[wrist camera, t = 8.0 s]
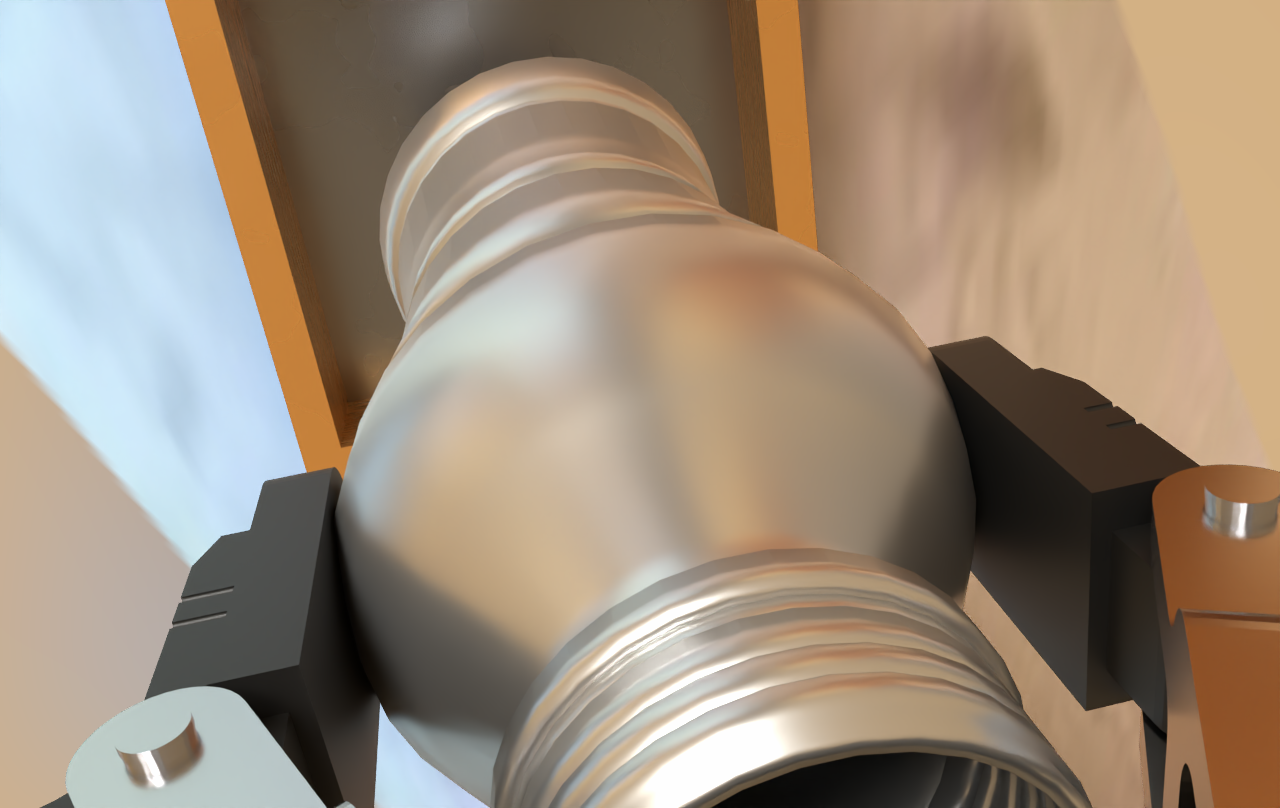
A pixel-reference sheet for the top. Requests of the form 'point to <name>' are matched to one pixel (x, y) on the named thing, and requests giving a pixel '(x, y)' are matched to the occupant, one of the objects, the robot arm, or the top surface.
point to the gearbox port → (395, 102)
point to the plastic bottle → (658, 488)
